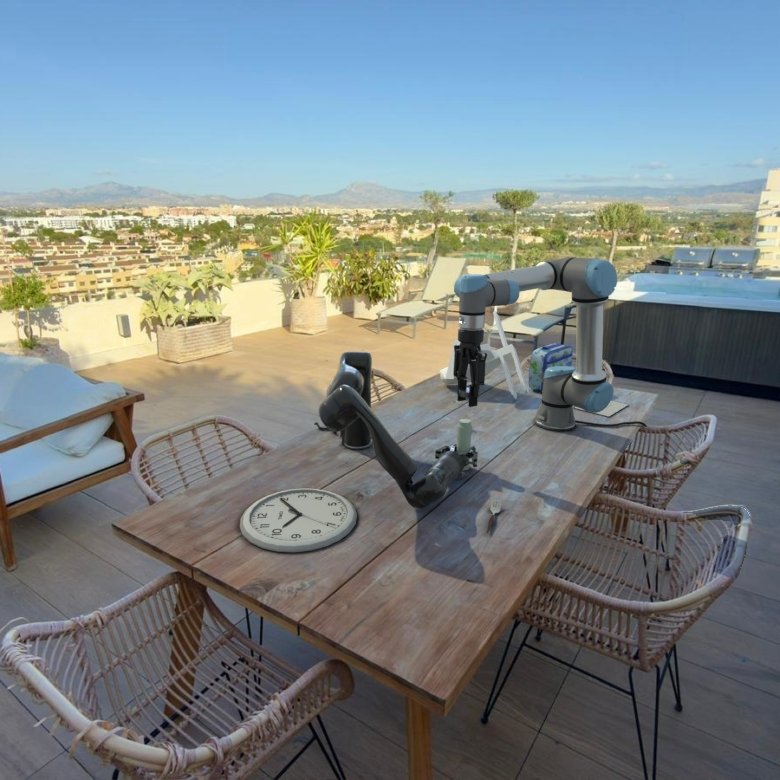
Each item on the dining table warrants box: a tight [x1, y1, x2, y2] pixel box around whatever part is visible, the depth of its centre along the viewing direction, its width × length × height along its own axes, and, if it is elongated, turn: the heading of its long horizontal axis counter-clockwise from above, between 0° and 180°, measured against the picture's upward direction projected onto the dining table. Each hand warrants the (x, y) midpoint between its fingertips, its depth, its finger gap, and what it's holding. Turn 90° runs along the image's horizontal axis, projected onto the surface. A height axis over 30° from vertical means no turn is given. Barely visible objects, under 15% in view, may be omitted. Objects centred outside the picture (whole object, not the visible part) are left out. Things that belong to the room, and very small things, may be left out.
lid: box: [459, 386, 470, 399], centre depth 159 cm, size 5×5×2 cm
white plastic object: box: [438, 310, 531, 400], centre depth 245 cm, size 37×45×31 cm
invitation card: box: [573, 400, 629, 418], centre depth 226 cm, size 21×1×15 cm
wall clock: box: [239, 487, 358, 553], centre depth 136 cm, size 30×2×30 cm
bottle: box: [456, 418, 473, 472], centre depth 164 cm, size 4×4×16 cm
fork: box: [486, 498, 503, 534], centre depth 137 cm, size 3×16×2 cm, turn 160°
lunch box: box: [528, 343, 574, 392], centre depth 249 cm, size 26×11×21 cm, turn 134°
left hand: (465, 447), depth 167 cm, fingers closed on bottle, 4 cm apart
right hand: (467, 403), depth 160 cm, fingers closed on lid, 5 cm apart
